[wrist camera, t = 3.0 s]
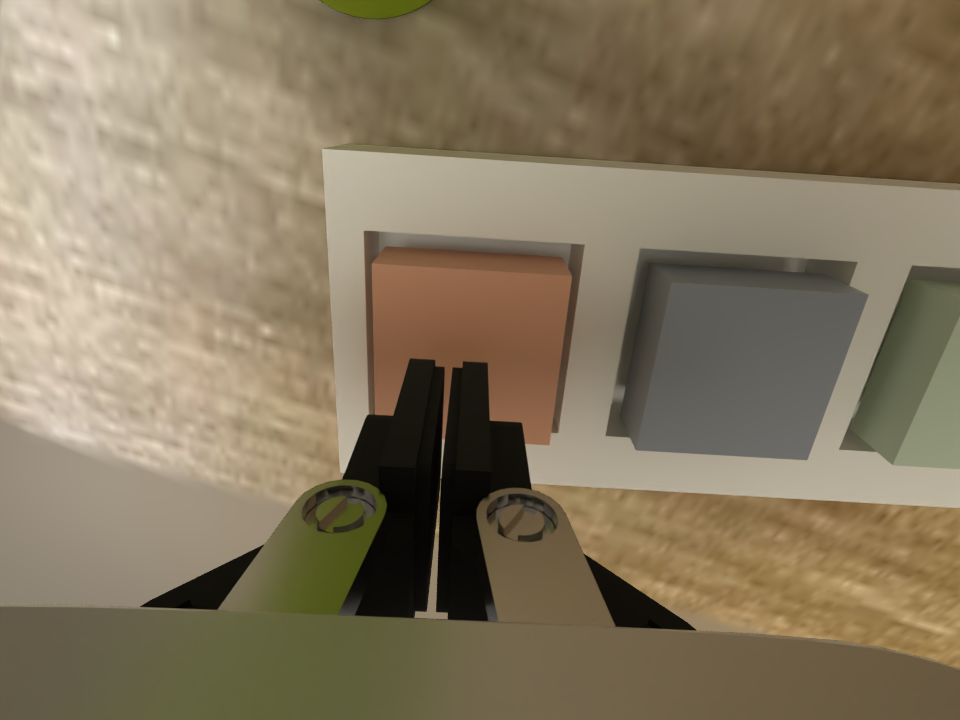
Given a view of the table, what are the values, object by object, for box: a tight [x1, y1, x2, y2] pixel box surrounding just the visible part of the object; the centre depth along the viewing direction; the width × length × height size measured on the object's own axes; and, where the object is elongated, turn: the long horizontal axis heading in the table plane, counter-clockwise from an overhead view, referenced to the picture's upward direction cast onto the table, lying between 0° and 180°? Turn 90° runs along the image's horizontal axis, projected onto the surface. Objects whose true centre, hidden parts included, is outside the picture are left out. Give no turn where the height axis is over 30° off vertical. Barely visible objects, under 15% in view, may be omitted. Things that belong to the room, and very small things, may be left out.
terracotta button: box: [372, 246, 572, 445], centre depth 15 cm, size 5×5×2 cm
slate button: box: [620, 263, 869, 460], centre depth 15 cm, size 5×5×2 cm
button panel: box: [322, 144, 960, 508], centre depth 17 cm, size 23×10×3 cm, turn 87°
